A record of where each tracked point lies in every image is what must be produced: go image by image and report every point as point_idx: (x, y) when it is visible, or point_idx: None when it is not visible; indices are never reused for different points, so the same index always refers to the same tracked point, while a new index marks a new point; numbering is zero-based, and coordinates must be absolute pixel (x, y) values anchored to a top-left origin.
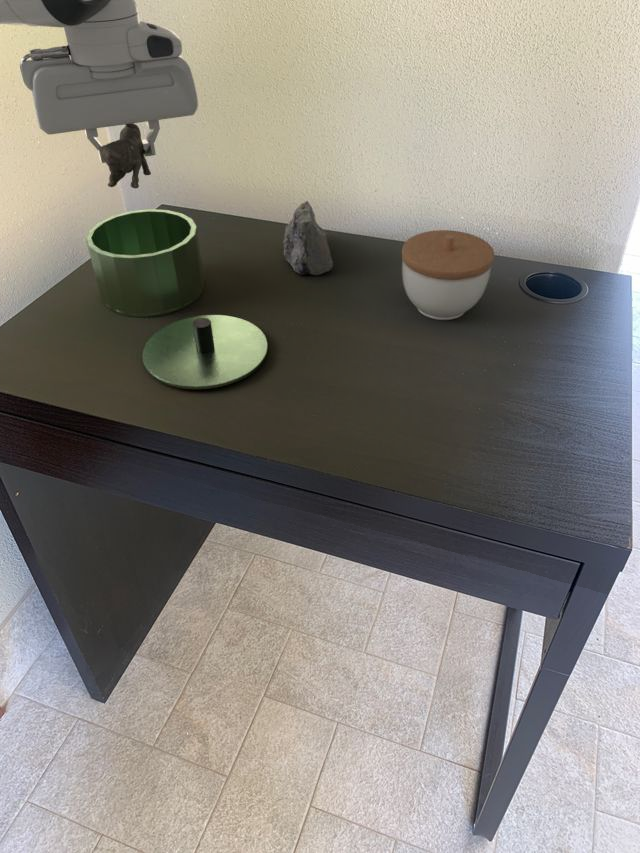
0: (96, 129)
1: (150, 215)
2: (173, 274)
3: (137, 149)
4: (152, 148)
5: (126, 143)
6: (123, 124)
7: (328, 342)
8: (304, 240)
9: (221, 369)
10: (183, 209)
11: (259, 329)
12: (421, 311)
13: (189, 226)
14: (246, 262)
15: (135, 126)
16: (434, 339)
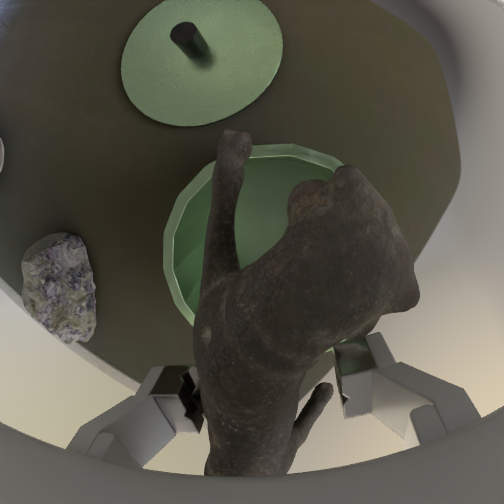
0: (422, 443)
1: None
2: None
3: (193, 348)
4: (151, 379)
5: (229, 343)
6: (224, 476)
7: (69, 85)
8: (44, 249)
9: (179, 11)
10: None
11: (125, 88)
12: (2, 145)
13: (180, 283)
14: (144, 287)
15: None
16: (6, 103)
